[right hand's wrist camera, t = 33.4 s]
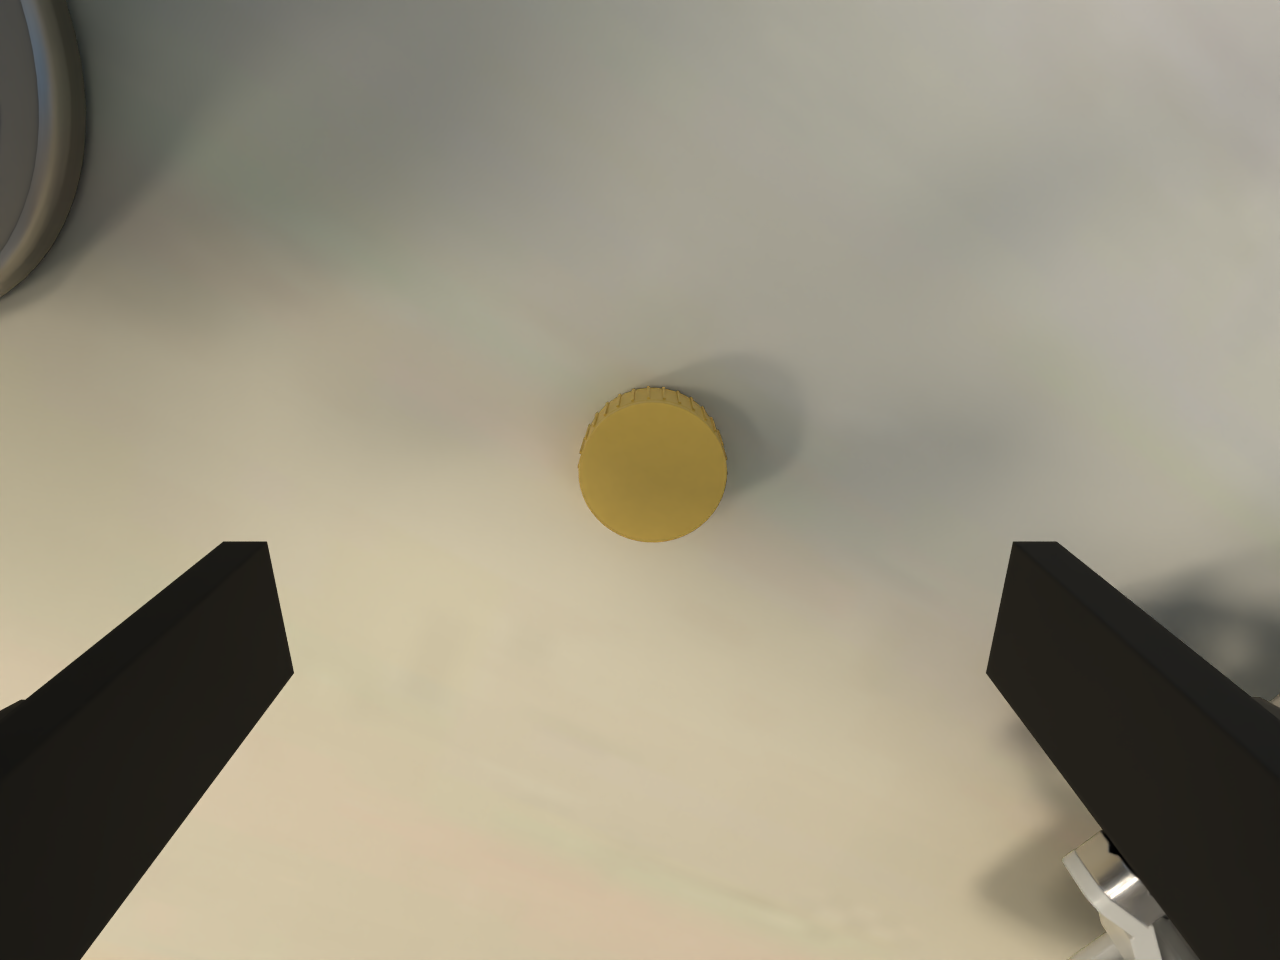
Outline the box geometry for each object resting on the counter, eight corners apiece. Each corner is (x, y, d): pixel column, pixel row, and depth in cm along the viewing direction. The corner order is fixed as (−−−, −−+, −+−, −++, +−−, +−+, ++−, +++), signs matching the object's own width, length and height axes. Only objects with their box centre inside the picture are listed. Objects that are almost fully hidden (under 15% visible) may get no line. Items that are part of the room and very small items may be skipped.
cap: (748, 473, 23) (757, 495, 21) (632, 542, 24) (631, 569, 22) (673, 357, 22) (676, 370, 20) (554, 435, 23) (546, 454, 21)
